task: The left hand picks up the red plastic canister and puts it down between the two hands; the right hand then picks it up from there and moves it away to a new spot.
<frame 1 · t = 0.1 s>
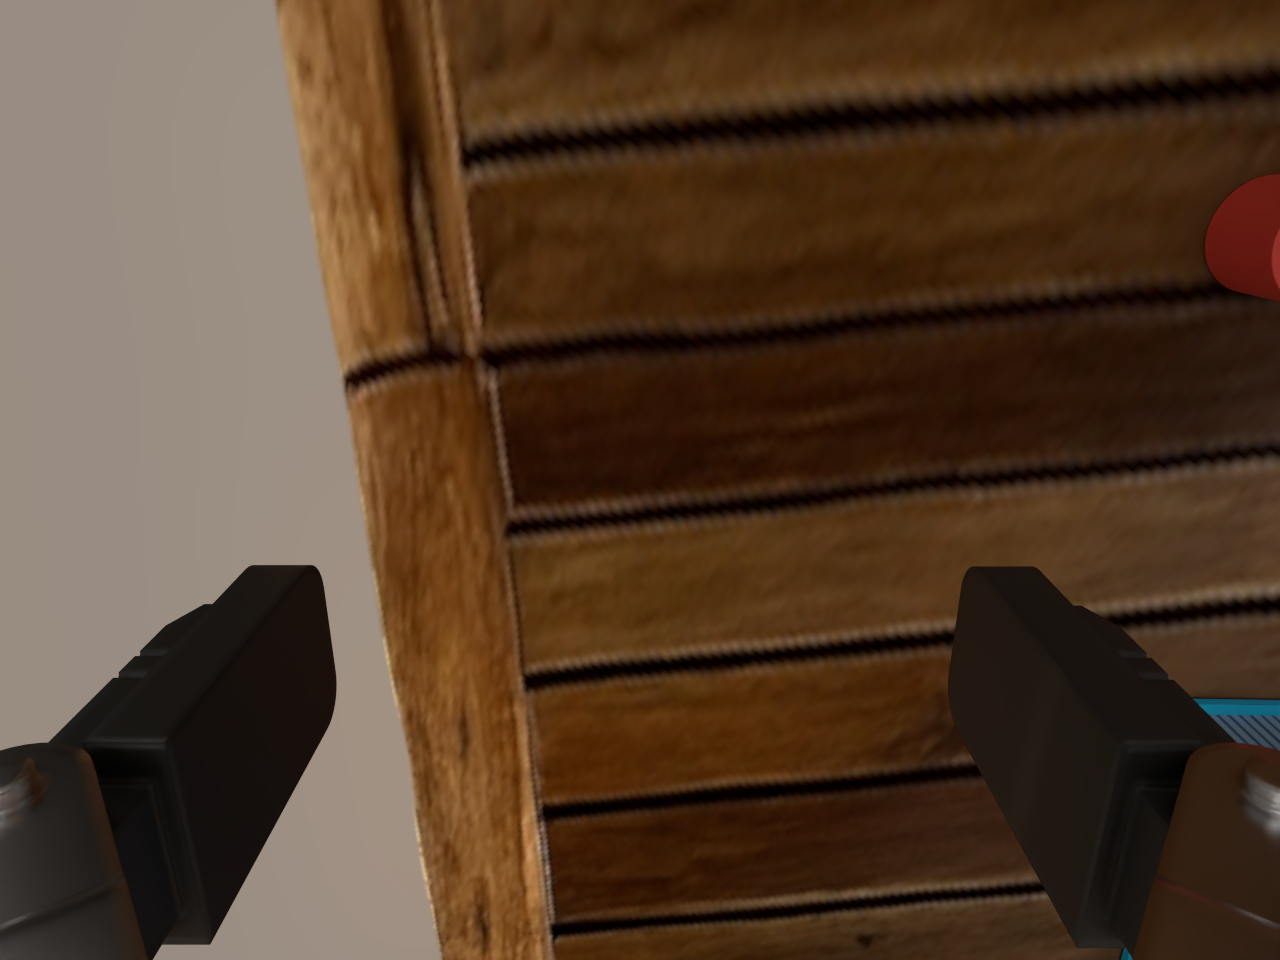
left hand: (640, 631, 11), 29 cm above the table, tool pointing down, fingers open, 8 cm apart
canister: (1262, 234, 38), on the table
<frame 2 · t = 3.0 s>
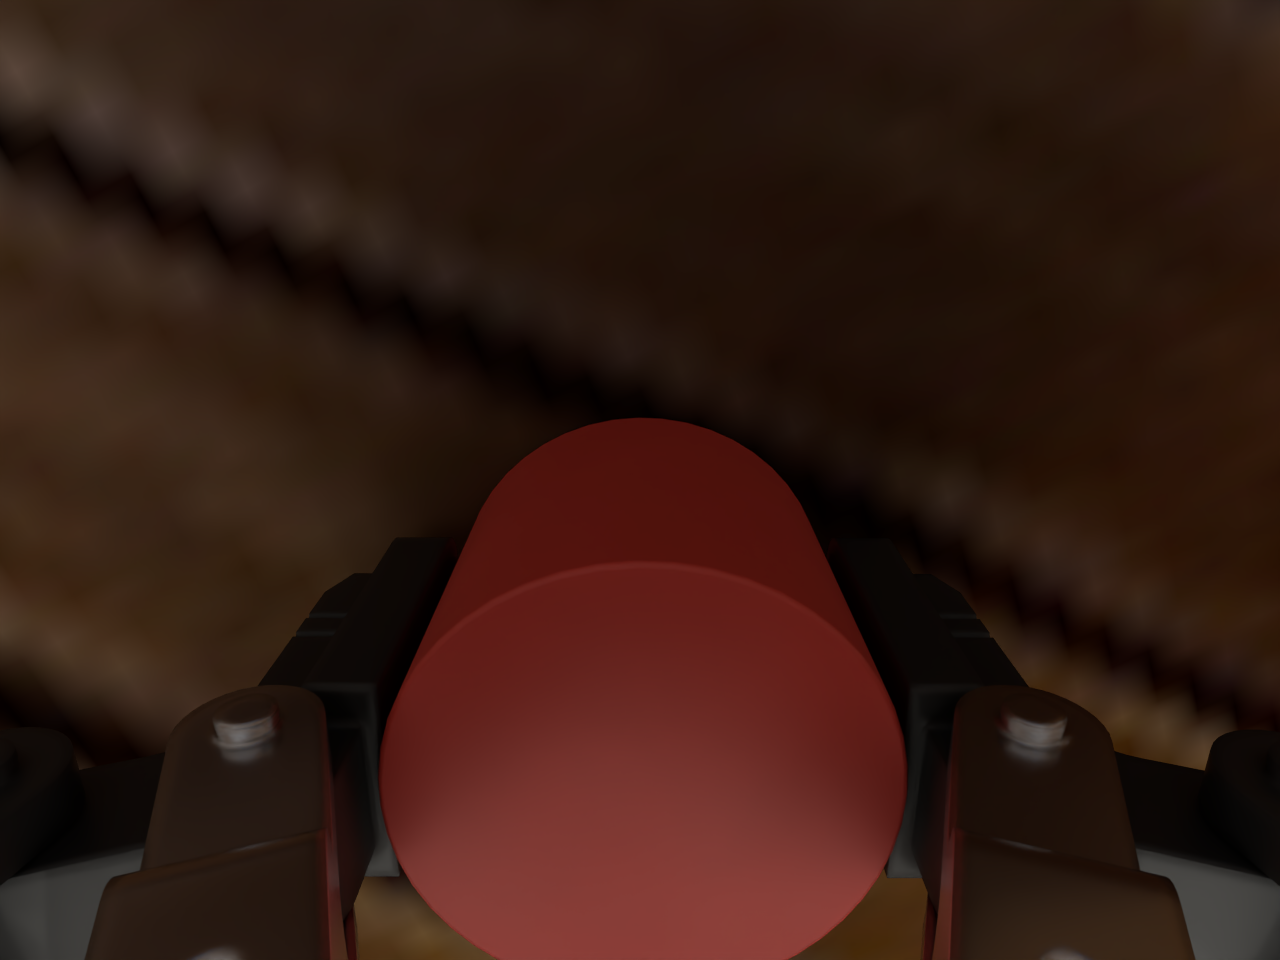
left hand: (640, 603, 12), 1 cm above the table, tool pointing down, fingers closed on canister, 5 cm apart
canister: (642, 586, 12), on the table, touching left hand
when the left hand's fingers open (1 cm above the table, at t = 7.1 s): canister stays where it is, on the table.
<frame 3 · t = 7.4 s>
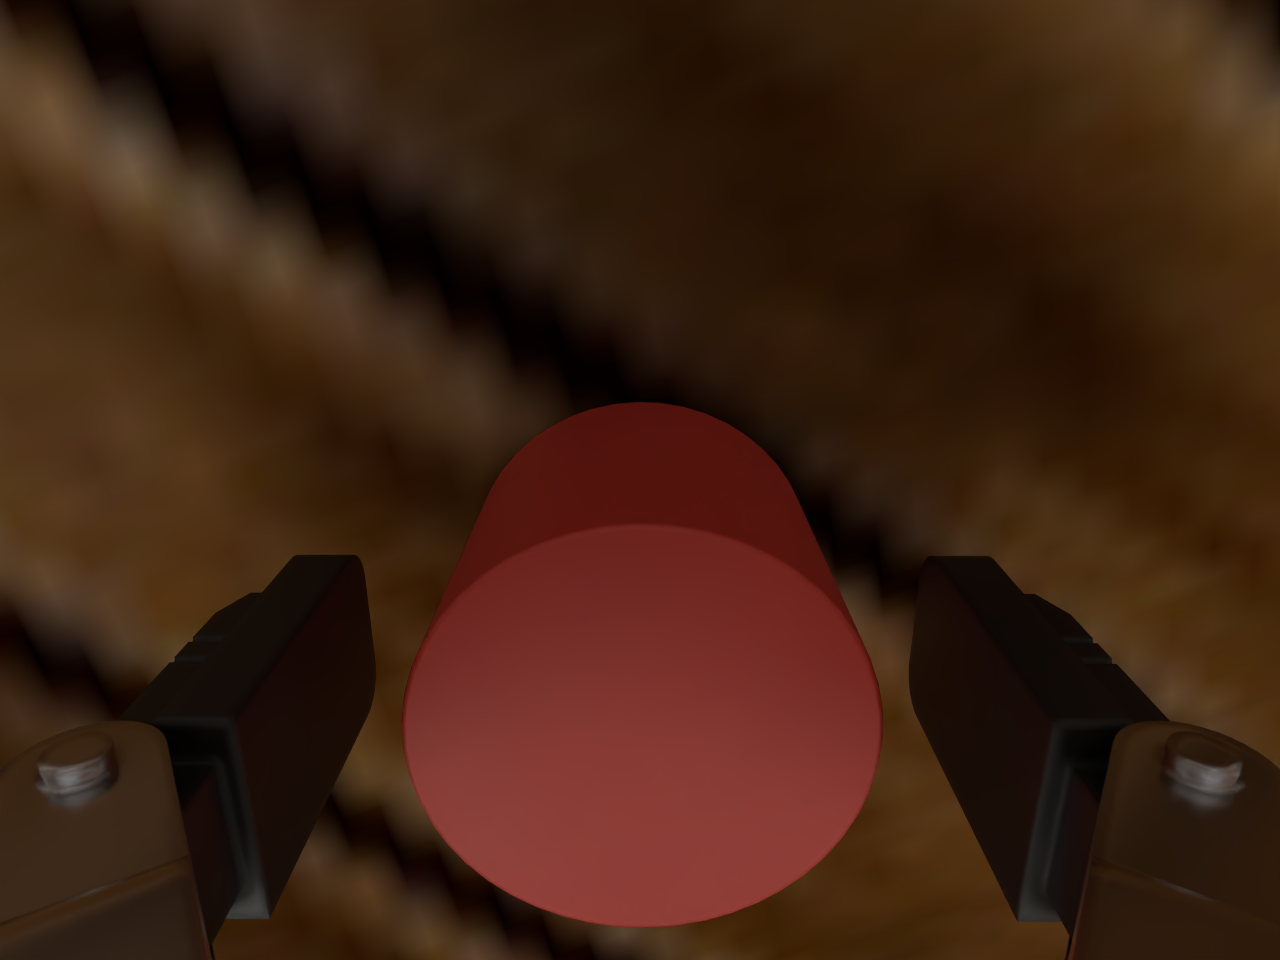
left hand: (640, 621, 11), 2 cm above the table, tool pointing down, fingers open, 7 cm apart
canister: (641, 561, 13), on the table
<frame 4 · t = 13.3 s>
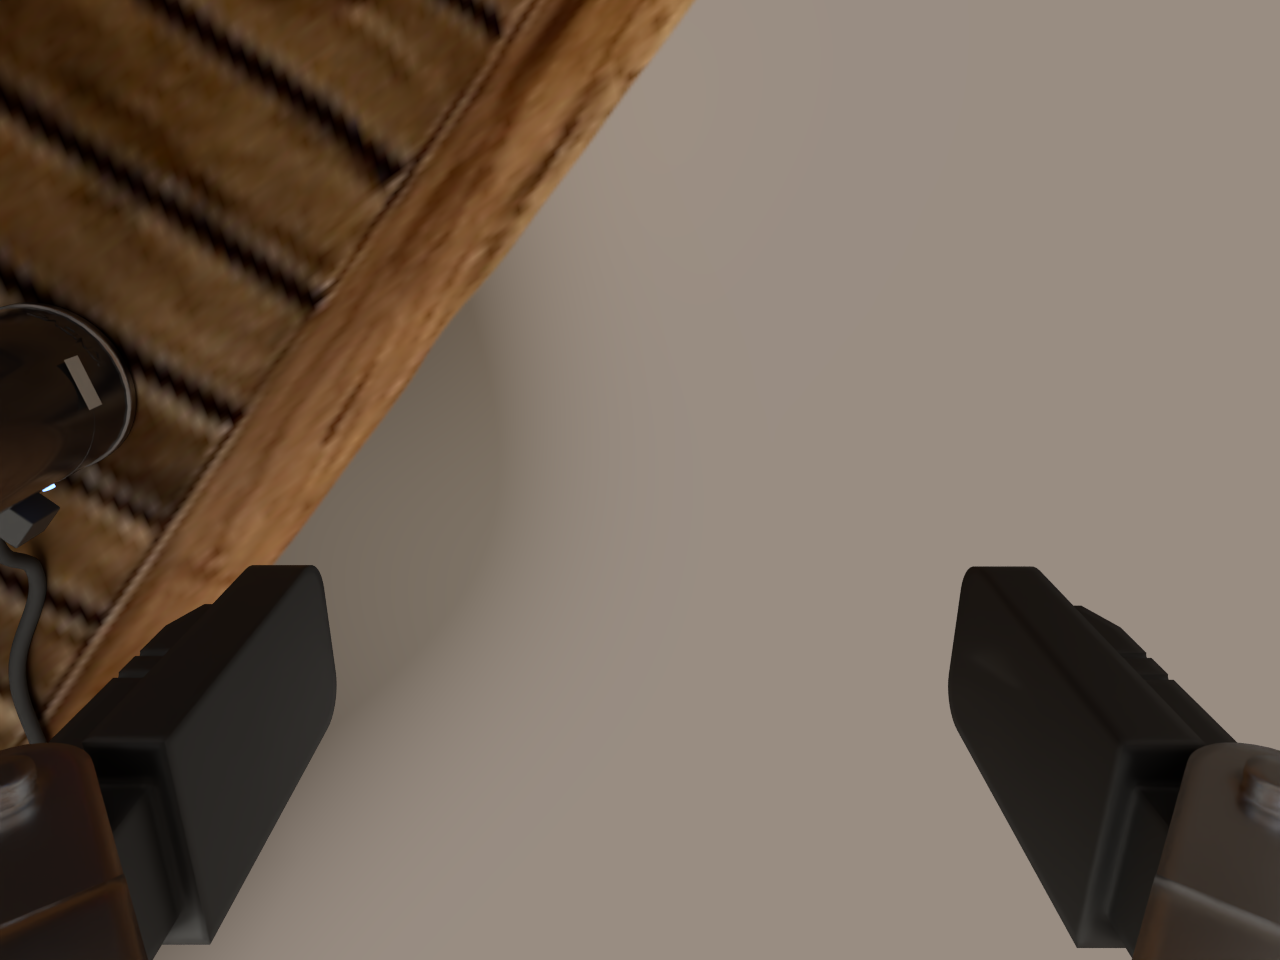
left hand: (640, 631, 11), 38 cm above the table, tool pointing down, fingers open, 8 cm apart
when the right hand's fingers open (2 cm above the table, at t = 19.3 s): canister stays where it is, on the table.
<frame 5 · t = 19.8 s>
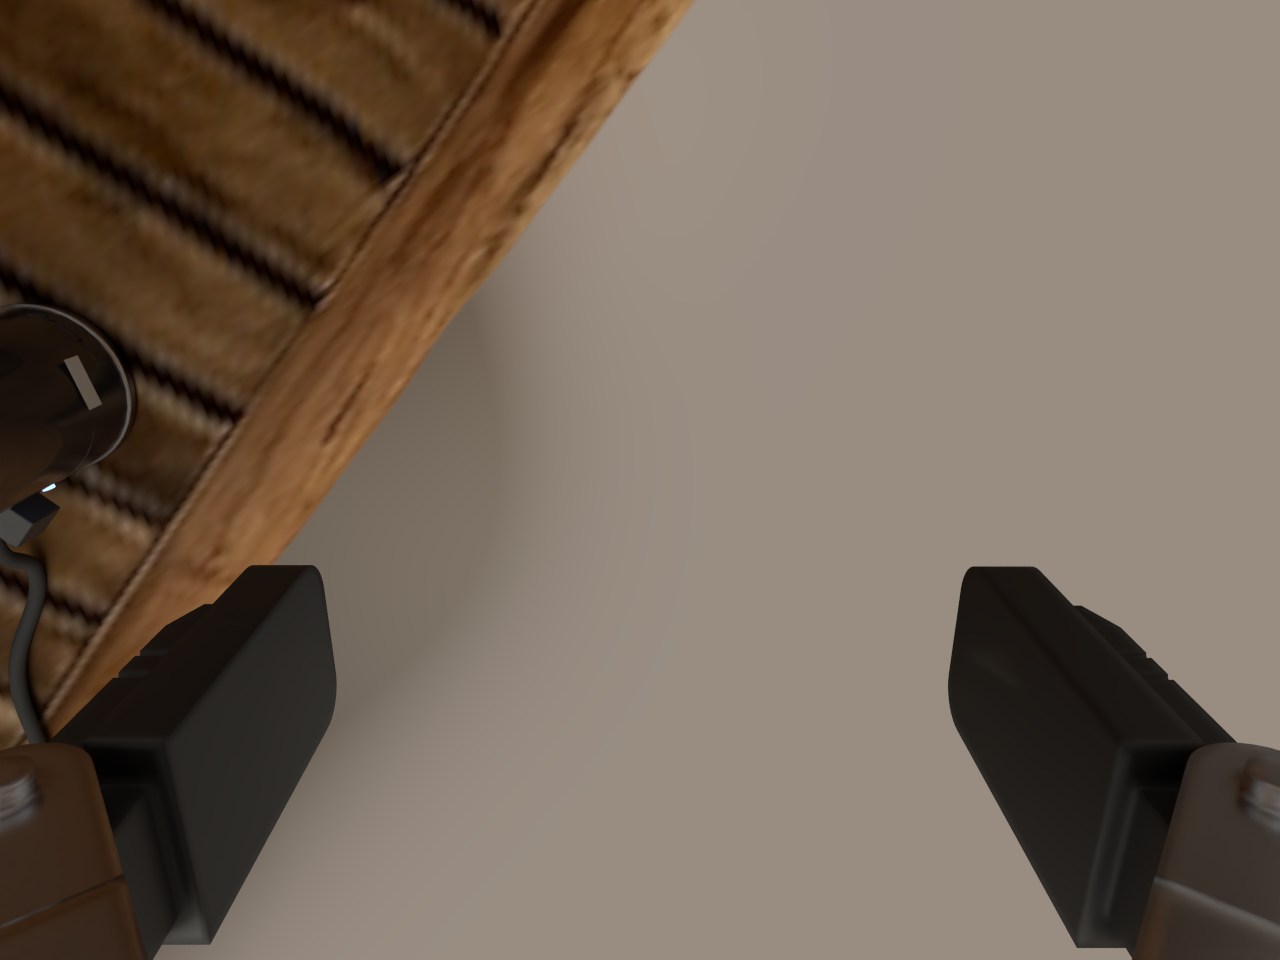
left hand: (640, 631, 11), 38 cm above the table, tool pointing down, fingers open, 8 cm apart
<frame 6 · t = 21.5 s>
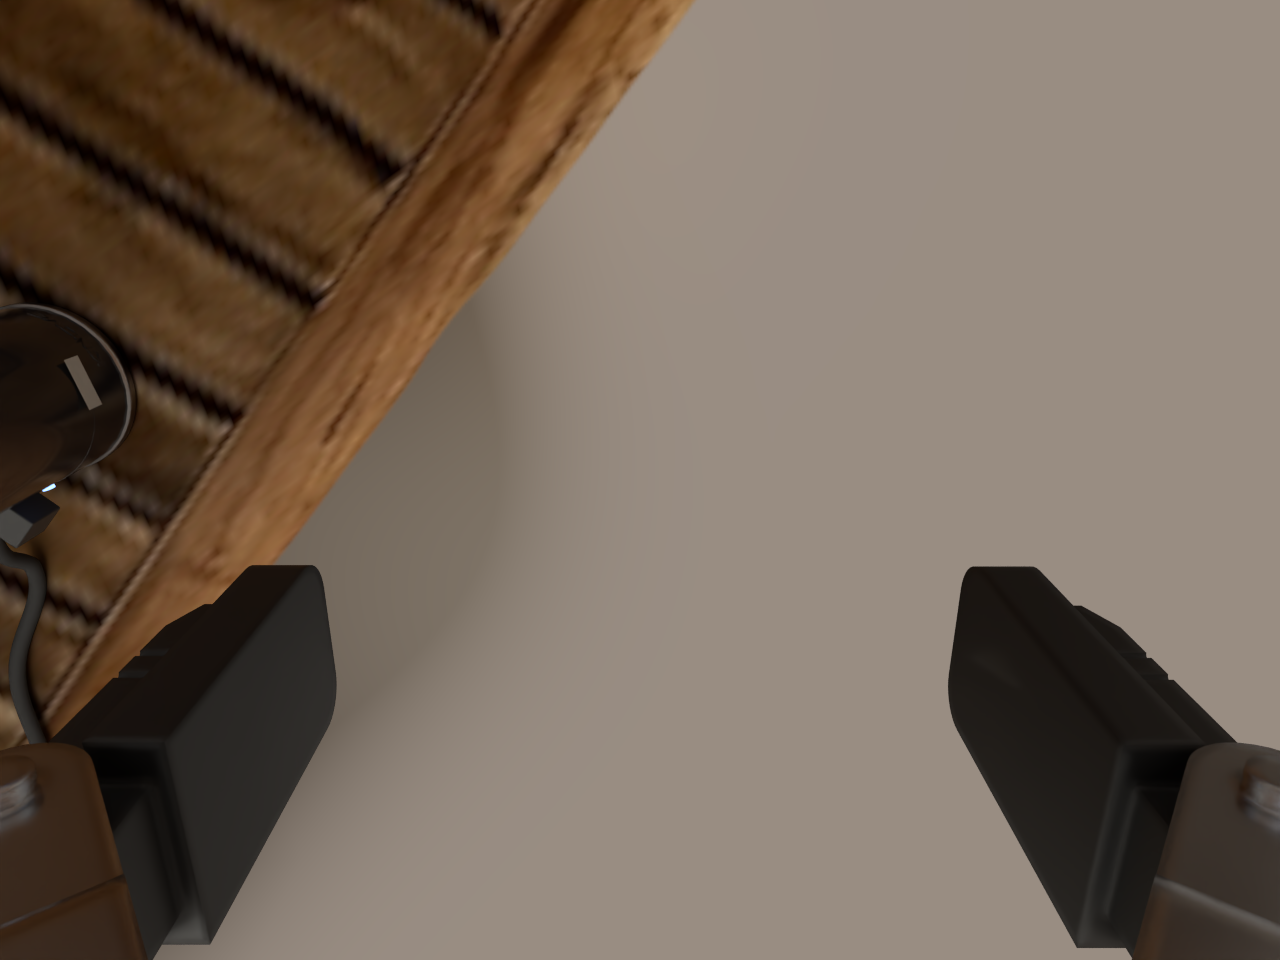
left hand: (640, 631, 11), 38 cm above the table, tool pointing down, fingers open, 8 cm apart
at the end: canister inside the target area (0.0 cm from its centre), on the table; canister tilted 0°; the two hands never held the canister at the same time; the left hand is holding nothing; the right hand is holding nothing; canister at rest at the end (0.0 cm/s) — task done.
